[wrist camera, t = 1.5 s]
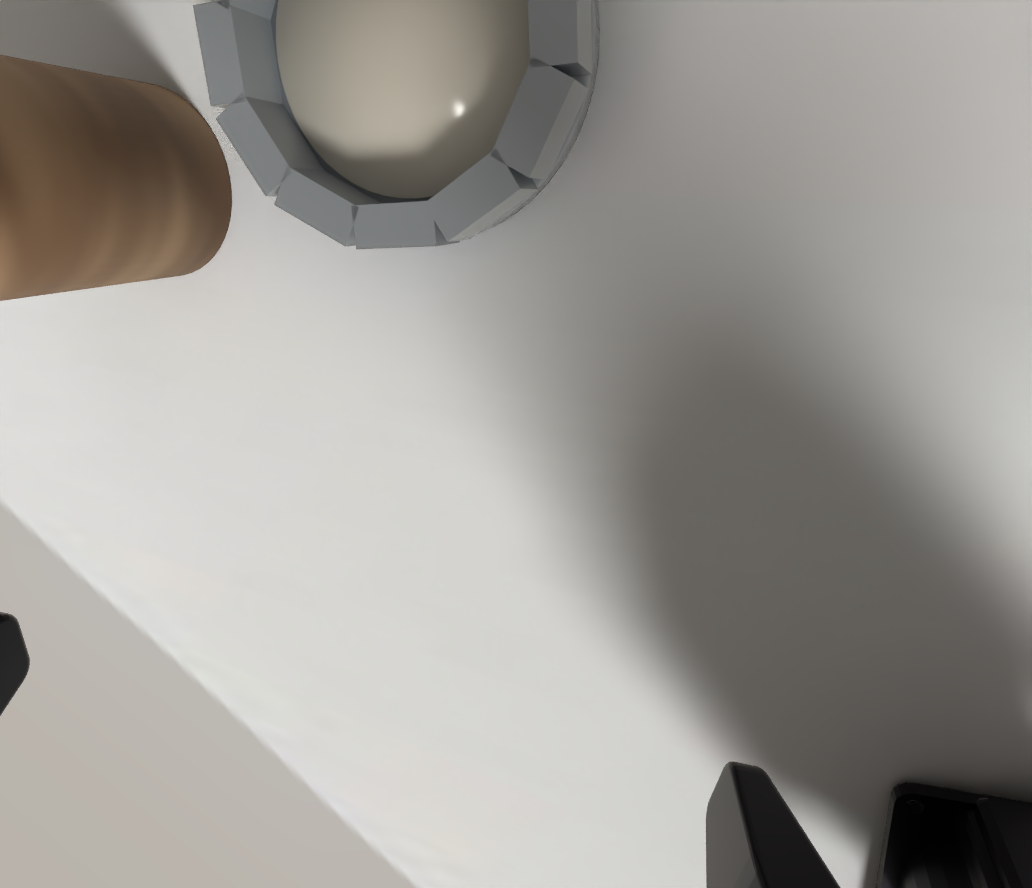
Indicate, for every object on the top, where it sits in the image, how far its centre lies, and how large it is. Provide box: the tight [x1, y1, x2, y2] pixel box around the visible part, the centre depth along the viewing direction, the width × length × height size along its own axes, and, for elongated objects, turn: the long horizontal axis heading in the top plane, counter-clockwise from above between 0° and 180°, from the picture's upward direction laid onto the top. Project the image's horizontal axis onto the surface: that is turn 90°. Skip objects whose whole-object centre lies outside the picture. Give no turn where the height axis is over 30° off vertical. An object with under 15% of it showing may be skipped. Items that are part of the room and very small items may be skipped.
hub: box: [193, 0, 600, 249], centre depth 16 cm, size 9×9×2 cm
